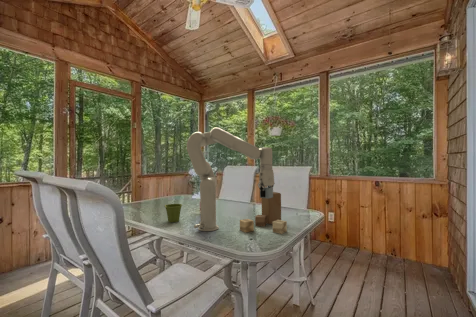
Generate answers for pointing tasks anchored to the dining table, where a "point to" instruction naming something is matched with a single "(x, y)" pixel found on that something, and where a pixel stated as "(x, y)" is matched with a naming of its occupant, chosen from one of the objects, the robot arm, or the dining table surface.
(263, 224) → the cube walnut
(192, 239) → the dining table surface
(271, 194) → the cube slate
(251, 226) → the cube oak
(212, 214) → the robot arm
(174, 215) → the plant pot
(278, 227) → the cube maple
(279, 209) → the block
